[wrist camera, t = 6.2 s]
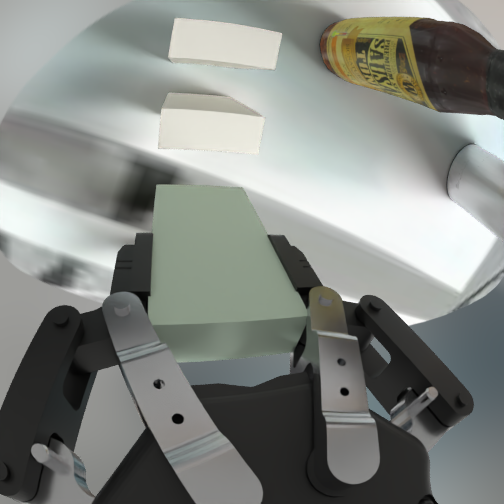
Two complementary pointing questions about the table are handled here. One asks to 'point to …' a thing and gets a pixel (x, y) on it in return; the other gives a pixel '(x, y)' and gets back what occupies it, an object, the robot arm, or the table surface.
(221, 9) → the table surface
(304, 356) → the robot arm
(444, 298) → the table surface
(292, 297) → the domino
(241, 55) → the domino
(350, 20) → the sauce bottle
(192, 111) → the domino
